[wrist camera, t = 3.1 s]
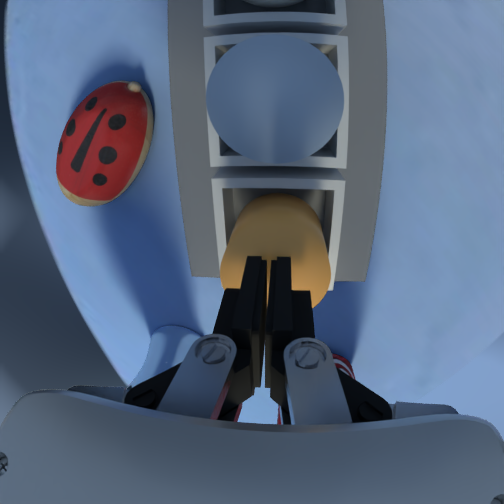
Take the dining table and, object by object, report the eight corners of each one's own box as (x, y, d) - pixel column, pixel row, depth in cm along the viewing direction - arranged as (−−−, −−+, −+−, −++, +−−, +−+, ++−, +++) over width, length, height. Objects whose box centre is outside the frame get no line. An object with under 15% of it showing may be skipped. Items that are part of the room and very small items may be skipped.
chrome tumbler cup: (219, 373, 28) (187, 510, 15) (156, 363, 29) (108, 487, 16) (213, 325, 25) (166, 493, 12) (140, 316, 25) (69, 458, 12)
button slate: (327, 53, 11) (343, 37, 7) (327, 147, 13) (341, 165, 10) (225, 54, 11) (203, 39, 8) (229, 146, 14) (209, 164, 10)
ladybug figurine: (59, 174, 19) (31, 189, 16) (107, 61, 15) (76, 59, 12) (119, 218, 21) (95, 240, 18) (182, 104, 16) (160, 107, 13)
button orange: (324, 194, 14) (336, 228, 11) (318, 272, 16) (324, 320, 13) (232, 192, 15) (214, 225, 11) (237, 269, 17) (224, 316, 14)
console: (367, -50, 9) (385, -78, 5) (360, 269, 20) (373, 307, 17) (177, -47, 10) (152, -73, 7) (197, 264, 22) (180, 301, 18)
